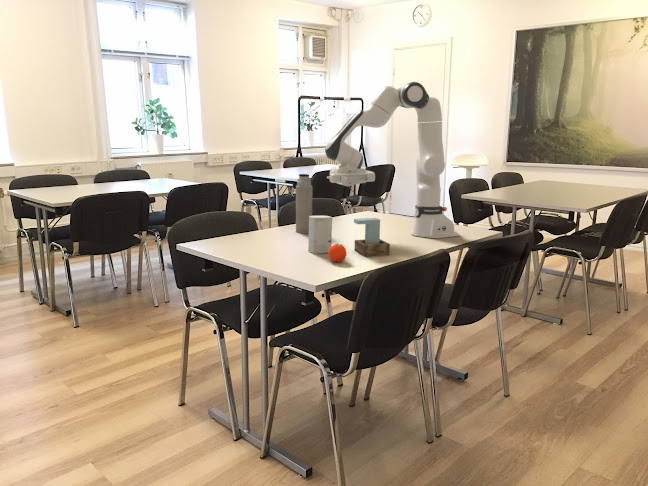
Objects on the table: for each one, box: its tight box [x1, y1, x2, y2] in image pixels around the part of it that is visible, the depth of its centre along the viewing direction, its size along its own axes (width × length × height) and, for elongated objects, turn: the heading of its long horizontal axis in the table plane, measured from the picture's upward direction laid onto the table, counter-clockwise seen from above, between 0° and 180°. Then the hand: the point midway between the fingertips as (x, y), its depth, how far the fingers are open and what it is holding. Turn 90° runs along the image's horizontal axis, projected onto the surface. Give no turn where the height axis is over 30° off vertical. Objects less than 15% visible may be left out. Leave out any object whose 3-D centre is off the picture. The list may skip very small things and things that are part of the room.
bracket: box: [353, 217, 381, 245], centre depth 217 cm, size 10×4×13 cm, turn 107°
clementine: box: [328, 243, 349, 263], centre depth 203 cm, size 8×7×7 cm
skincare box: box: [307, 215, 333, 255], centre depth 219 cm, size 8×6×15 cm
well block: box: [354, 238, 391, 258], centre depth 219 cm, size 11×11×4 cm
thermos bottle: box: [295, 173, 313, 234], centre depth 260 cm, size 8×8×28 cm
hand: (358, 178), depth 230 cm, fingers open, 8 cm apart
